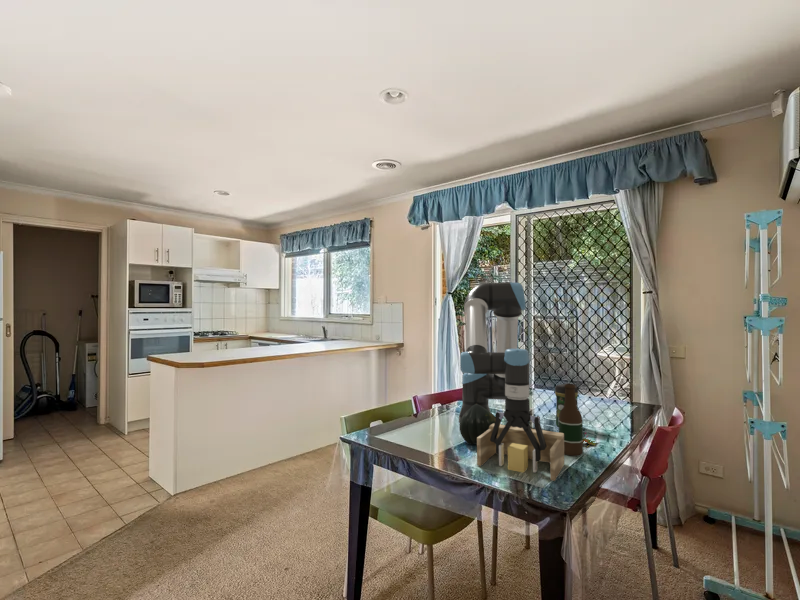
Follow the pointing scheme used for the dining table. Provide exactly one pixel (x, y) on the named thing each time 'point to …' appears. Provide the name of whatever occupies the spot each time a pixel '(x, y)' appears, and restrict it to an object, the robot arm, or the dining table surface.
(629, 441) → the dining table surface
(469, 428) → the squash
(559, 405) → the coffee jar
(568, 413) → the beer bottle
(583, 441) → the lily flower
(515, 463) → the block
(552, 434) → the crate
